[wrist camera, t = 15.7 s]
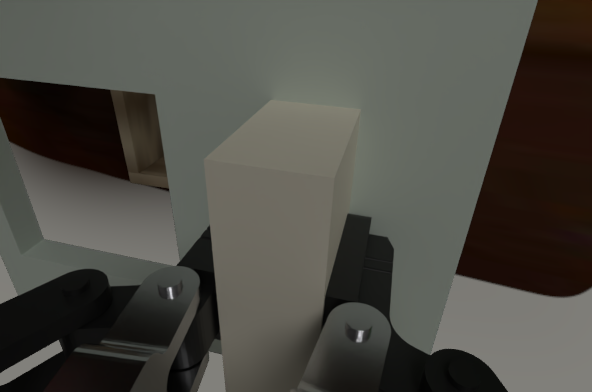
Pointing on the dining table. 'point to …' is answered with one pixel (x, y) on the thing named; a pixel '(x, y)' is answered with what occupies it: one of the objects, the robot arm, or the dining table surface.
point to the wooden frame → (141, 137)
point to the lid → (283, 147)
